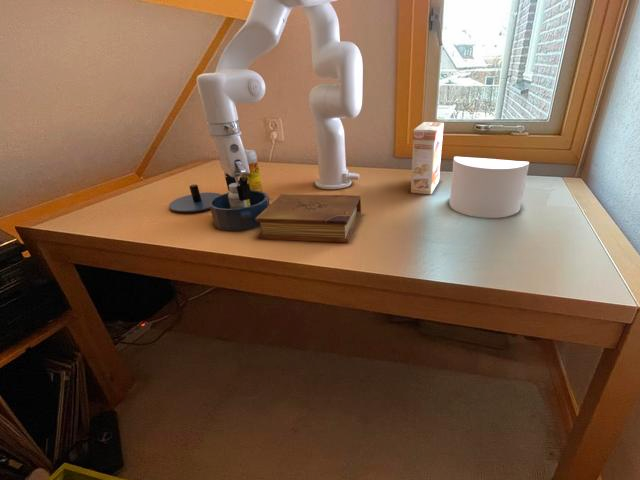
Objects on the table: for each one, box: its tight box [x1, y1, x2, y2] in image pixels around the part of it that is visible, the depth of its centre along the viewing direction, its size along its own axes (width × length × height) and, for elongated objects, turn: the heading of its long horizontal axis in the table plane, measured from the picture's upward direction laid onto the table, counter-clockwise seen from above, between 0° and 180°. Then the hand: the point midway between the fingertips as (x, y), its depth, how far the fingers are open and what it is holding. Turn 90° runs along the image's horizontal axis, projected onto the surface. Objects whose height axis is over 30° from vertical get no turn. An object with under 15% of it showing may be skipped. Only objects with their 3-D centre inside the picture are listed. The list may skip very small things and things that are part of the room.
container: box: [448, 155, 530, 219], centre depth 105 cm, size 20×20×13 cm
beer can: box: [244, 148, 264, 192], centre depth 116 cm, size 6×6×15 cm
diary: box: [255, 193, 362, 243], centre depth 98 cm, size 23×19×6 cm
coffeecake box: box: [410, 121, 445, 195], centre depth 119 cm, size 15×7×20 cm, turn 160°
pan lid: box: [168, 183, 223, 213], centre depth 114 cm, size 16×16×6 cm
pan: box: [209, 190, 271, 232], centre depth 103 cm, size 16×21×6 cm
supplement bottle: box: [228, 183, 250, 209], centre depth 101 cm, size 5×5×10 cm
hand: (239, 194), depth 101 cm, fingers open, 9 cm apart
